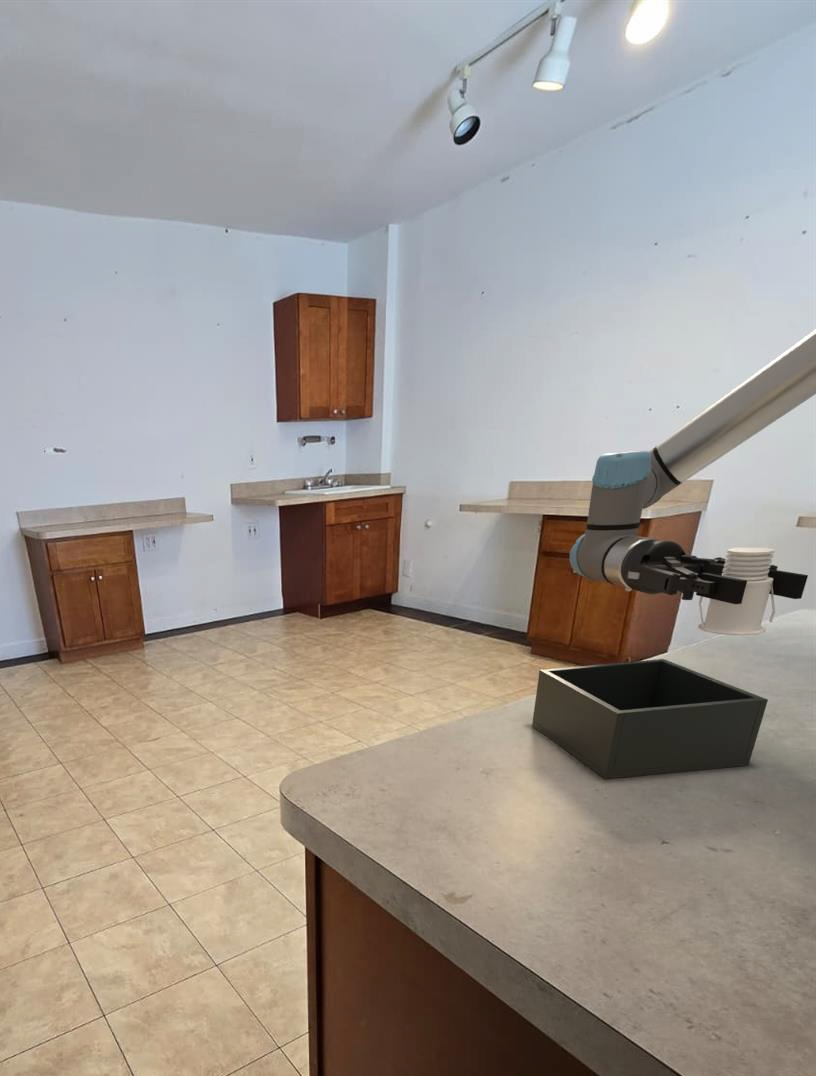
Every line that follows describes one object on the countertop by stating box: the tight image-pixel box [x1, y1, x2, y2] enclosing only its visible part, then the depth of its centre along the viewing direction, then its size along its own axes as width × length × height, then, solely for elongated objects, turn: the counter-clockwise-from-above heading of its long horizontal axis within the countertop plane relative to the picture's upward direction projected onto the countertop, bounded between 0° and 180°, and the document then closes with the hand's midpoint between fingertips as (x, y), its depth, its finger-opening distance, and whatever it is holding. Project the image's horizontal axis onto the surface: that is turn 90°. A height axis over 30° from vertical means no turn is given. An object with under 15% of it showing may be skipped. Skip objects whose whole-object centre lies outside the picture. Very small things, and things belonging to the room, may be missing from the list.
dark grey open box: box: [531, 658, 769, 780], centre depth 77 cm, size 17×17×8 cm
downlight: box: [697, 546, 776, 636], centre depth 80 cm, size 8×7×10 cm
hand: (771, 589), depth 75 cm, fingers closed on downlight, 7 cm apart
